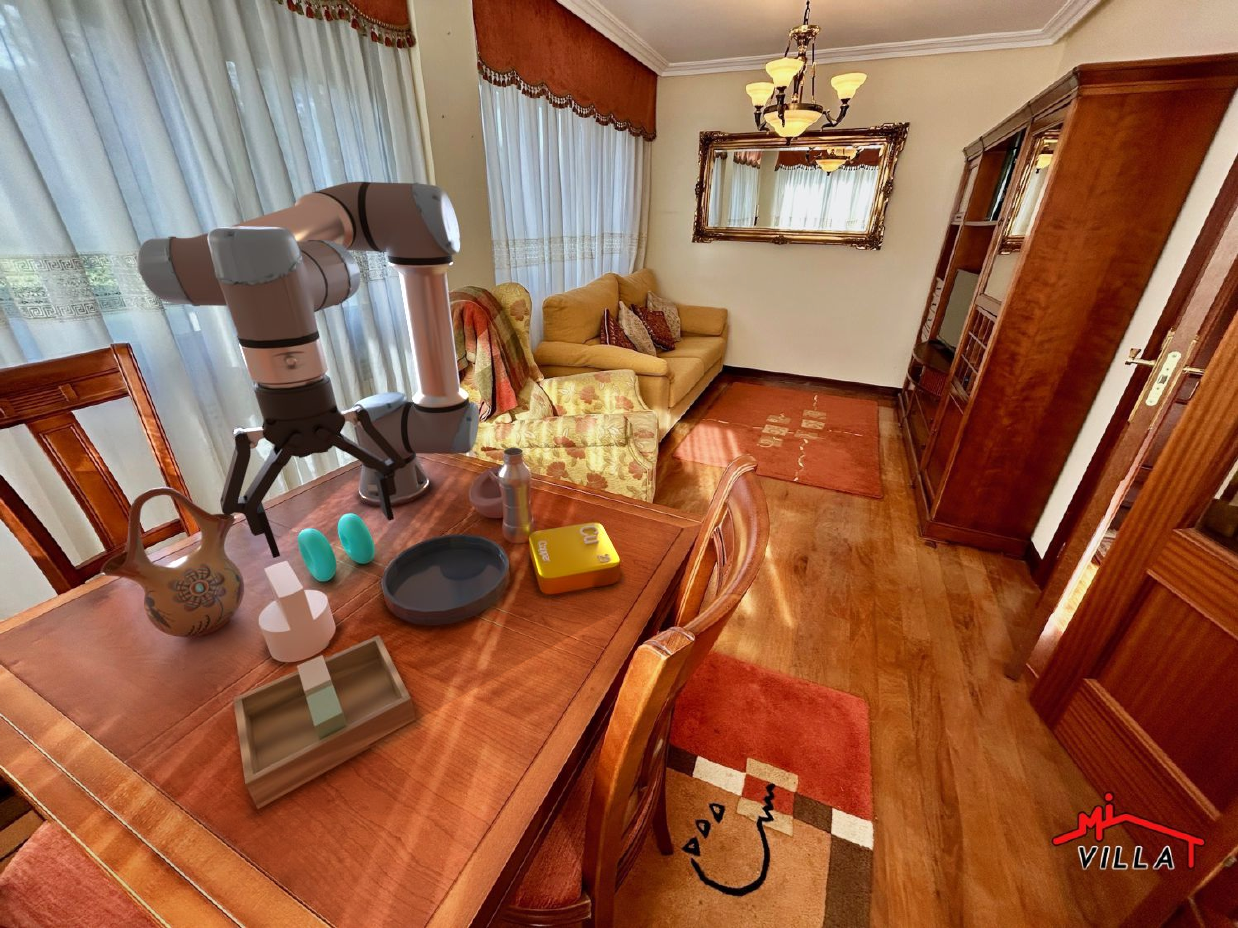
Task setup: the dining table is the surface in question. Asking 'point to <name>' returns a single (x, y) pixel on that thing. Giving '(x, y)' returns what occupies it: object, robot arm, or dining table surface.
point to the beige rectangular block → (314, 675)
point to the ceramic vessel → (183, 574)
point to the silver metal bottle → (516, 497)
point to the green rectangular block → (326, 712)
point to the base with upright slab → (294, 617)
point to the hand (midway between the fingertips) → (335, 532)
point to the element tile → (573, 558)
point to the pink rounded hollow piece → (487, 494)
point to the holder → (284, 729)
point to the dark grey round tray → (445, 579)
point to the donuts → (321, 553)
